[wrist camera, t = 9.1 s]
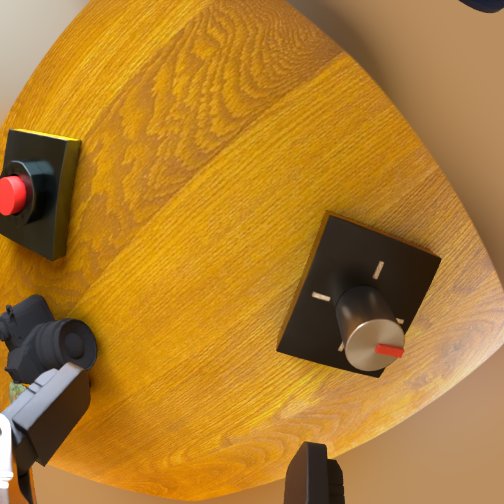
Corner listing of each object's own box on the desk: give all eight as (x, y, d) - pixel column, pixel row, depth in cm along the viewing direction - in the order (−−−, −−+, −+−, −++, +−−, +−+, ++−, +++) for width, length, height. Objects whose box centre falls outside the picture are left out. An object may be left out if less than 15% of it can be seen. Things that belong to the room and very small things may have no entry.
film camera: (128, 388, 32) (93, 438, 24) (78, 390, 34) (43, 431, 26) (67, 273, 29) (11, 307, 20) (24, 292, 31) (-25, 321, 22)
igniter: (22, 129, 25) (-3, 128, 21) (82, 140, 25) (55, 139, 21) (11, 228, 29) (-12, 237, 25) (65, 255, 28) (41, 267, 24)
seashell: (0, 387, 33) (43, 432, 34) (14, 373, 36) (56, 417, 38) (-4, 401, 36) (33, 440, 37) (8, 389, 40) (44, 427, 41)
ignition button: (8, 173, 23) (-4, 174, 21) (28, 179, 23) (16, 181, 21) (5, 207, 24) (-6, 210, 22) (25, 216, 24) (13, 219, 22)
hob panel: (326, 209, 24) (329, 215, 21) (430, 250, 23) (443, 259, 21) (277, 336, 27) (275, 352, 25) (373, 362, 27) (379, 379, 24)
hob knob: (328, 324, 24) (336, 368, 18) (345, 279, 22) (360, 315, 17) (373, 334, 23) (390, 378, 18) (391, 291, 22) (416, 328, 17)
